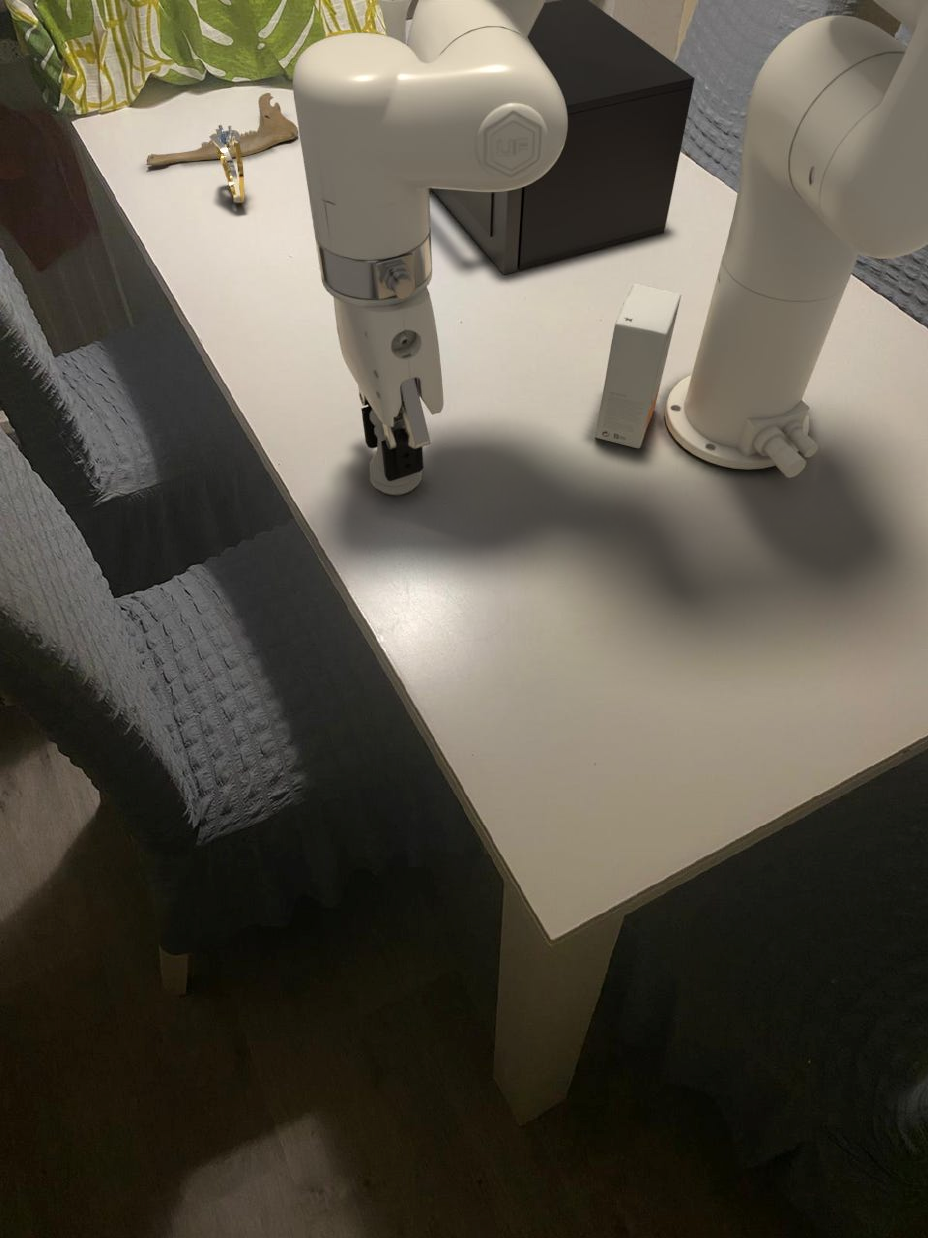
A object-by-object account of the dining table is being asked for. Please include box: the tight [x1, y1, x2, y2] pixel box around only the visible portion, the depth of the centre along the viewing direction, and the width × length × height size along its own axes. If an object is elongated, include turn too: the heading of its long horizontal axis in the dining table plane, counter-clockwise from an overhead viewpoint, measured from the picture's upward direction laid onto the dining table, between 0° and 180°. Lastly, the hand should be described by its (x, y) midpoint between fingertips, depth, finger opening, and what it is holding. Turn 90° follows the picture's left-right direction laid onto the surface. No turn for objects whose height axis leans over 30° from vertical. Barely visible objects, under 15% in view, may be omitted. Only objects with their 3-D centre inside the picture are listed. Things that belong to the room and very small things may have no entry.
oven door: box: [430, 187, 522, 276], centre depth 94 cm, size 5×22×16 cm, turn 25°
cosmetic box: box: [594, 283, 682, 449], centre depth 76 cm, size 6×4×12 cm
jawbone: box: [145, 92, 299, 166], centre depth 109 cm, size 9×20×2 cm, turn 141°
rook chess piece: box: [369, 409, 423, 496], centre depth 73 cm, size 4×4×8 cm
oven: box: [517, 0, 696, 272], centre depth 97 cm, size 18×22×16 cm
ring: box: [208, 124, 245, 204], centre depth 100 cm, size 7×3×8 cm, turn 19°
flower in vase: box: [375, 0, 413, 46], centre depth 105 cm, size 13×11×25 cm
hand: (394, 455), depth 74 cm, fingers closed on rook chess piece, 3 cm apart
